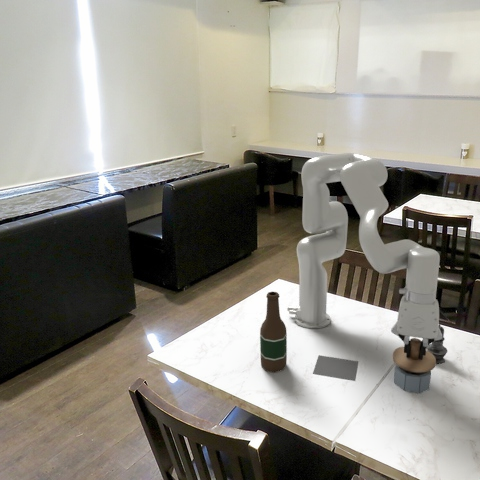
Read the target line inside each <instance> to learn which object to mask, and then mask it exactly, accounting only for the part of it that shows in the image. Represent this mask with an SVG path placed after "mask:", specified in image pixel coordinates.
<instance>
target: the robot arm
mask: <svg viewBox="0 0 480 480" xmlns="http://www.w3.org/2000/svg"><path fill="white" fill-rule="evenodd" d="M387 169H388V168H387V167H386V165H385V164H384V163H383V161H381V160H379V159H377V158H374V157H371V156H366V155H362V154H357V153H355V152H343V153H336V154H326V155H325V154H324V155H321V156H316V157H313V158H310V159H308V160H306V162H305V163H304V164H303V165H302V169H301V185H302V193H303V194H302V197H303V198H302V214H301V215H302V216H301V217H302V220H301V223H302V227H303V230H304V232H306V233H308V234H312V235H309V236H306V237H303V238H302V239H301V240H299V242H298V243H297V245H296V256H297V261H298V267H299V268H298V272H299V286H298V287H299V292H298V295H299V297H298V299H299V300H298V302H299V303H298V305H299V306H298V305H296V306H291V305H288V306H287V311H288V312H289V315H295V316H294V322H295V323H296V324H297V325H298V326H300V327H303V328H305V329H310V330H311V329H313V330H314V329H322V328H323V329H324V328H326V327H327V326H328V325H330V323H331V317H330V314H328V313H327V304H328V303H327V298H328V295H327V294H328V293H327V292H328V273H327V270H326V268H325V267H324V266H323V263H324V262H325V263H326V262H327V261H331V260H335V259H338V258H340V257H342V256H343V255H344V254H345V252H346V248H347V238H348V227H349V226H348V224H349V216H348V211H347V209H346V207H345V206H344V204H343V203H341V202H340V201H336V200H335V201H330V189H329V187H328V185H327V184H330V183H331V184H332V183H337V182H341V183H340V184H341V185H342V186H343V188H344V190H345V192H346V194H347V196H348V198H349V200H350V201H351V203H352V205H353V206H354V208H355V210H356V212H357V214H358V215H359V218H360V219H359V225H358V240H359V244H360V247H361V249H362V251H363V254H364V255H365V258H366V259H367V262H368V263H369V264H370V265H371V267H372V268H373V269H374V270H375V271H377V272H378V273H380V274H391V273H394V272H396V271H399V270H405V269H406V276H405V278H406V279H405V287H404V288H399V290H398V293H399V294H400V295H403V296H402V297H401V299H400V303H399V308H398V312H397V313H398V314H397V320H396V321H395V322H394V324H393V326H392V327H391V330H390V332H391V333H392V334H393V335H394V336H397V337H398V338H399V339H400V340H401V341H402V342H403V347H404V353H406V357H407V358H408V357H409V354H410V339H411V338H410V337H412V338H417V339H422V340H421V348H420V360H422V359H423V355H424V356H425V355H426V350H427V349H426V347H427V346H428V345H429V344H432V342H434V341H435V340H440V339H442V338H443V337H444V336H443V337H442V333H441V331H440V329H439V324H440V322H439V321H440V307H439V306H440V305H439V301H438V299H436V298H437V287H438V280H439V271H440V269H439V268H440V262H441V261H440V260H441V257H440V253H439V252H438V251H436V250H435V249H433V248H429V247H424V246H422V245H420V244H419V243H417V242H415V241H413V240H411V239H408V238H407V239H406V238H405V239H400V240H398V241H393V242H389V243H384V242H383V240H382V238H381V236H380V234H379V230H378V227H377V226H378V221H379V217H381V216H383V214H384V213H385V212H386V211H387V209H388V208H389V202H388V200H387V198H386V196H385V195H384V193H383V192H382V189H381V188H380V187H382V186H383V185H385V183H386V182H387V180H388V170H387ZM313 234H314V235H313Z"/></svg>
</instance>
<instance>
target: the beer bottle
mask: <svg viewBox="0 0 480 480" xmlns="http://www.w3.org/2000/svg"><path fill="white" fill-rule="evenodd" d="M266 298H267V301H266V314H265V318H264V319H265V320H264V321H263V322H262V324H261V326H260V328H259V330H260V331H259V332H260V333H259V342H260V343H259V344H260V347H259V348H260V366H261V367H262V368H263V370H264V371H266V372H271V373H278V372H281V371H284V369H285V367H286V366H287V360H288V359H287V358H288V357H287V355H288V354H287V353H288V352H287V351H288V350H287V349H288V348H287V346H288V345H287V342H288V339H287V335H288V333H287V327H286V324H285V322H284V321H283V320H282V318H281V314H280V300H279V298H280V293H279V292H277V291H270V292H267V294H266Z"/></svg>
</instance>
